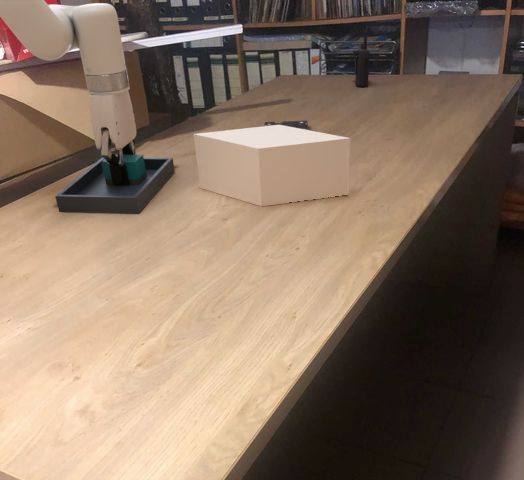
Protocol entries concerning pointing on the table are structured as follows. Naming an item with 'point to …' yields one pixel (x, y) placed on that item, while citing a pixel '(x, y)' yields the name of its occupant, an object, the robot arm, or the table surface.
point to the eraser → (128, 169)
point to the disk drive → (290, 124)
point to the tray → (114, 190)
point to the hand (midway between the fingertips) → (126, 179)
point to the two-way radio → (362, 63)
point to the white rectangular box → (273, 164)
